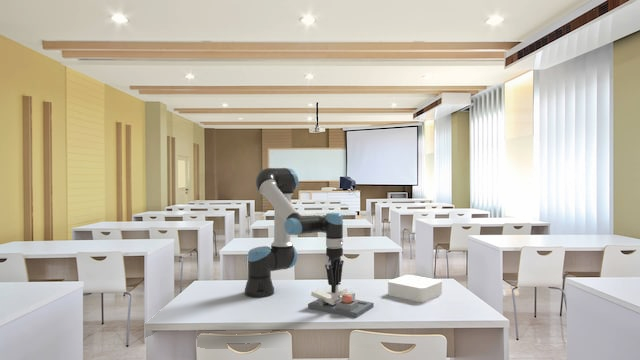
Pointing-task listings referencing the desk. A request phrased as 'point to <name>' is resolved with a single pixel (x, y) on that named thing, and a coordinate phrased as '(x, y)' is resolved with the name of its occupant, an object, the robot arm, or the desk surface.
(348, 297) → the button
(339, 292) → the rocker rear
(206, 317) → the desk surface
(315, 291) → the block
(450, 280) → the desk surface
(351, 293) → the block
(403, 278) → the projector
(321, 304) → the panel
